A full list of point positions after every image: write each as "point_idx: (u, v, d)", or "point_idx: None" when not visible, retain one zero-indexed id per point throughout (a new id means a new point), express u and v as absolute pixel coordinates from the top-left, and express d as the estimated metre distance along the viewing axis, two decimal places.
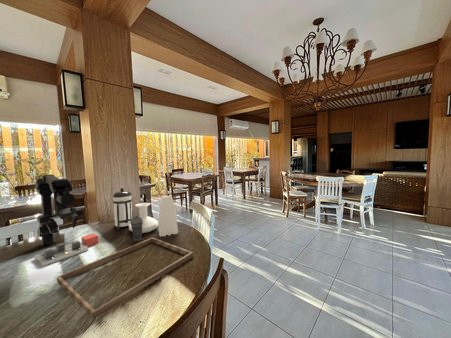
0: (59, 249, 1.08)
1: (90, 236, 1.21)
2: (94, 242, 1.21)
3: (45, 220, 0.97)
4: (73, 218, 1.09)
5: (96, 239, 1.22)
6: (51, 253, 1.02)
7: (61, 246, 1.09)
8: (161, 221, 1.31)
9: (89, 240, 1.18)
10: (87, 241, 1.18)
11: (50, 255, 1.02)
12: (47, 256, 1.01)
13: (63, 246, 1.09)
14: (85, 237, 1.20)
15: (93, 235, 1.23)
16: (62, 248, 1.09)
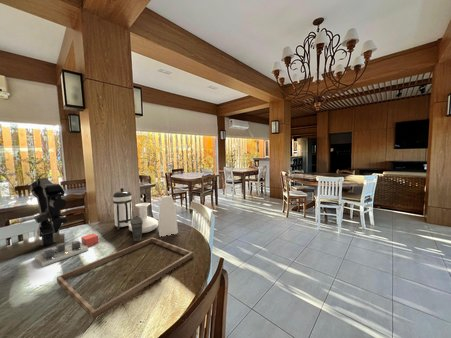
0: (59, 249, 1.08)
1: (90, 236, 1.21)
2: (94, 242, 1.21)
3: None
4: None
5: (96, 239, 1.22)
6: (51, 253, 1.02)
7: (61, 246, 1.09)
8: (160, 221, 1.31)
9: (89, 240, 1.18)
10: (87, 241, 1.18)
11: (50, 255, 1.02)
12: (47, 256, 1.01)
13: (63, 246, 1.09)
14: (85, 237, 1.20)
15: (93, 235, 1.23)
16: (62, 248, 1.09)
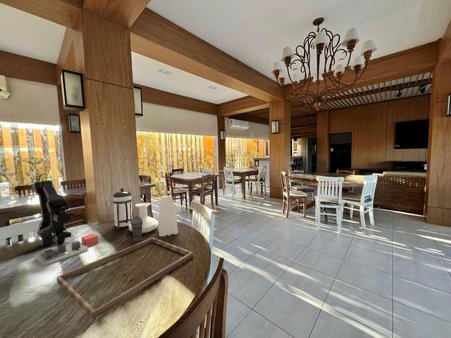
0: (60, 250, 1.07)
1: (90, 236, 1.21)
2: (94, 242, 1.21)
3: None
4: None
5: (96, 239, 1.22)
6: (51, 253, 1.02)
7: (62, 247, 1.08)
8: (161, 221, 1.31)
9: (89, 240, 1.18)
10: (87, 241, 1.18)
11: (50, 255, 1.02)
12: (47, 256, 1.01)
13: (64, 247, 1.08)
14: (85, 237, 1.20)
15: (93, 235, 1.23)
16: (63, 249, 1.08)
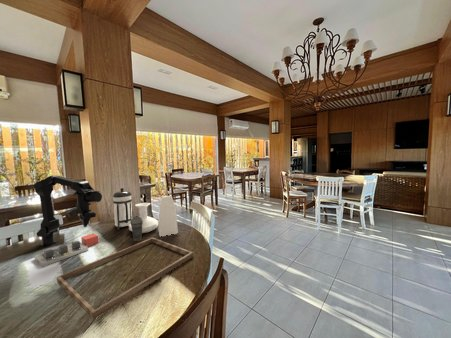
0: (62, 251, 1.05)
1: (90, 236, 1.21)
2: (94, 242, 1.21)
3: None
4: None
5: (96, 239, 1.22)
6: (51, 253, 1.02)
7: (64, 248, 1.06)
8: (161, 221, 1.31)
9: (89, 240, 1.18)
10: (87, 241, 1.18)
11: (50, 255, 1.02)
12: (47, 256, 1.01)
13: (66, 248, 1.07)
14: (85, 237, 1.20)
15: (93, 235, 1.23)
16: (65, 250, 1.06)
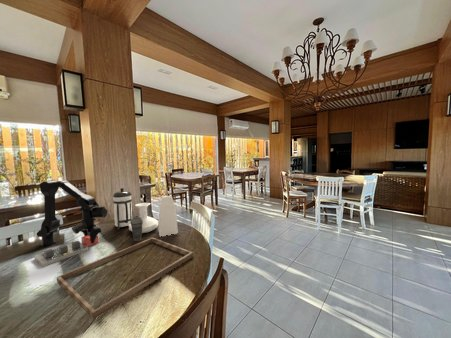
0: (62, 251, 1.05)
1: None
2: (94, 242, 1.21)
3: None
4: None
5: (96, 239, 1.22)
6: (51, 253, 1.02)
7: (64, 248, 1.06)
8: (160, 221, 1.31)
9: (89, 240, 1.18)
10: (87, 241, 1.18)
11: (50, 255, 1.02)
12: (47, 256, 1.01)
13: (66, 248, 1.07)
14: (85, 237, 1.20)
15: None
16: (65, 250, 1.06)
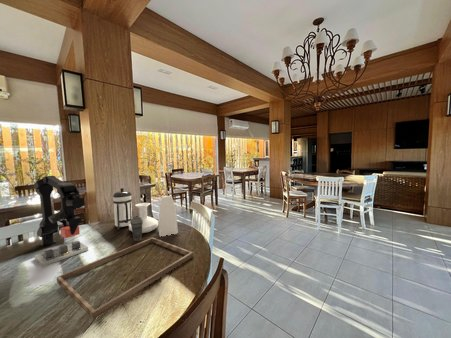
0: (62, 251, 1.05)
1: None
2: (75, 233, 1.10)
3: None
4: None
5: (77, 230, 1.10)
6: (51, 253, 1.02)
7: (64, 248, 1.06)
8: (161, 221, 1.31)
9: (69, 231, 1.07)
10: (66, 232, 1.06)
11: (50, 255, 1.02)
12: (47, 256, 1.01)
13: (66, 248, 1.07)
14: (64, 228, 1.08)
15: None
16: (65, 250, 1.06)
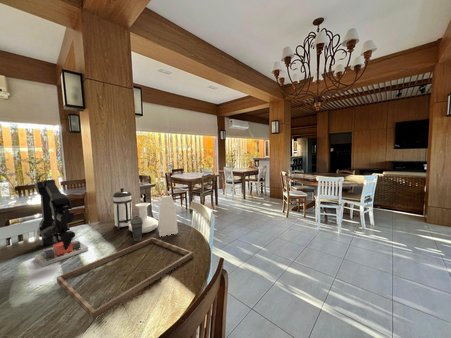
0: None
1: None
2: (68, 250, 1.06)
3: None
4: None
5: (70, 246, 1.07)
6: (51, 253, 1.02)
7: None
8: (161, 221, 1.31)
9: (61, 247, 1.04)
10: (59, 248, 1.03)
11: (50, 255, 1.02)
12: (47, 256, 1.01)
13: None
14: (57, 244, 1.06)
15: None
16: None
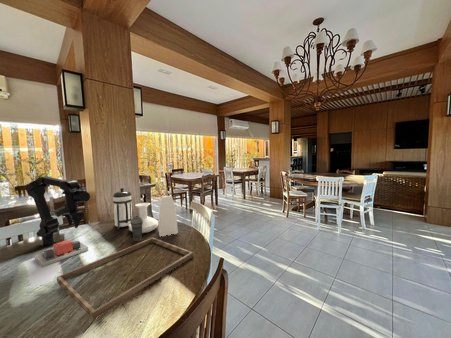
0: None
1: (63, 243, 1.07)
2: (68, 250, 1.06)
3: None
4: None
5: (70, 246, 1.07)
6: (51, 253, 1.02)
7: None
8: (161, 221, 1.31)
9: (61, 247, 1.04)
10: (59, 248, 1.03)
11: (50, 255, 1.02)
12: (47, 256, 1.01)
13: None
14: (57, 244, 1.06)
15: (67, 242, 1.08)
16: None
